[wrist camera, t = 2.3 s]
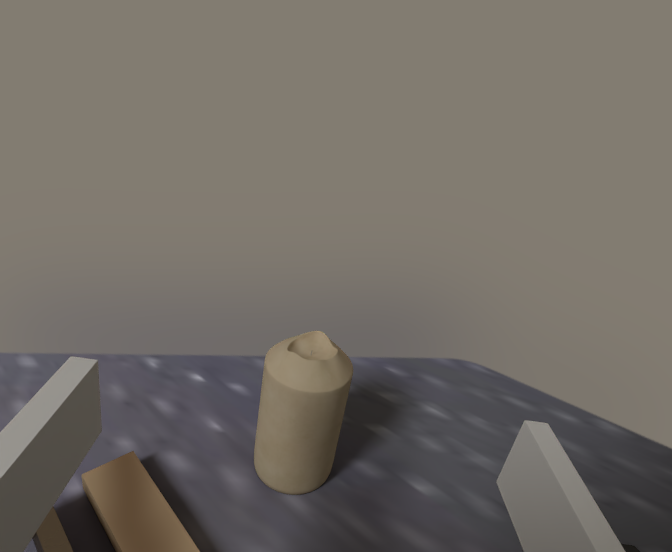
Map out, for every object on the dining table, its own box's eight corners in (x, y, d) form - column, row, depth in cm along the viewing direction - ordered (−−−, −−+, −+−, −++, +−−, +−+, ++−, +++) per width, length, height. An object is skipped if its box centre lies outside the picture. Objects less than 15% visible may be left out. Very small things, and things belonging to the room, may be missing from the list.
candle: (273, 422, 34) (289, 310, 30) (341, 448, 33) (366, 335, 29) (238, 477, 29) (250, 352, 25) (316, 509, 28) (342, 383, 24)
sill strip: (133, 464, 29) (133, 451, 28) (237, 625, 22) (239, 611, 21) (83, 488, 27) (81, 474, 26) (180, 675, 20) (180, 661, 19)
